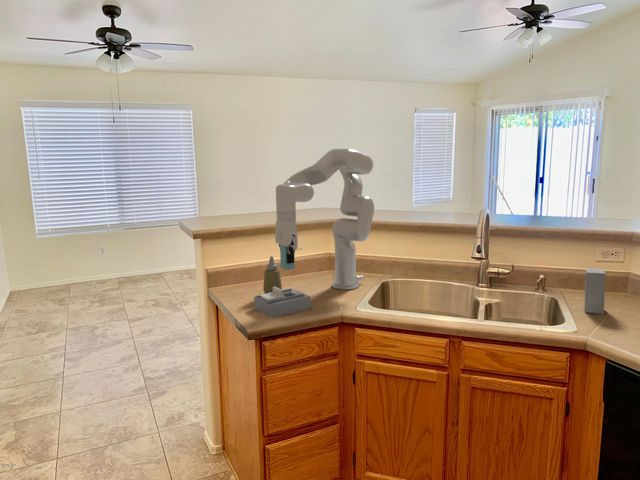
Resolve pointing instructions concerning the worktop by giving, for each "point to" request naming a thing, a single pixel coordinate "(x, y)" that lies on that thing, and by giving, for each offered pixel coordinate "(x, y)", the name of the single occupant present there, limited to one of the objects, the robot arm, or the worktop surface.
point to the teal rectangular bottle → (285, 258)
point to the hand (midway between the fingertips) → (287, 261)
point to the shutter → (273, 294)
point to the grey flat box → (283, 303)
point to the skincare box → (595, 291)
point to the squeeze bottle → (271, 277)
